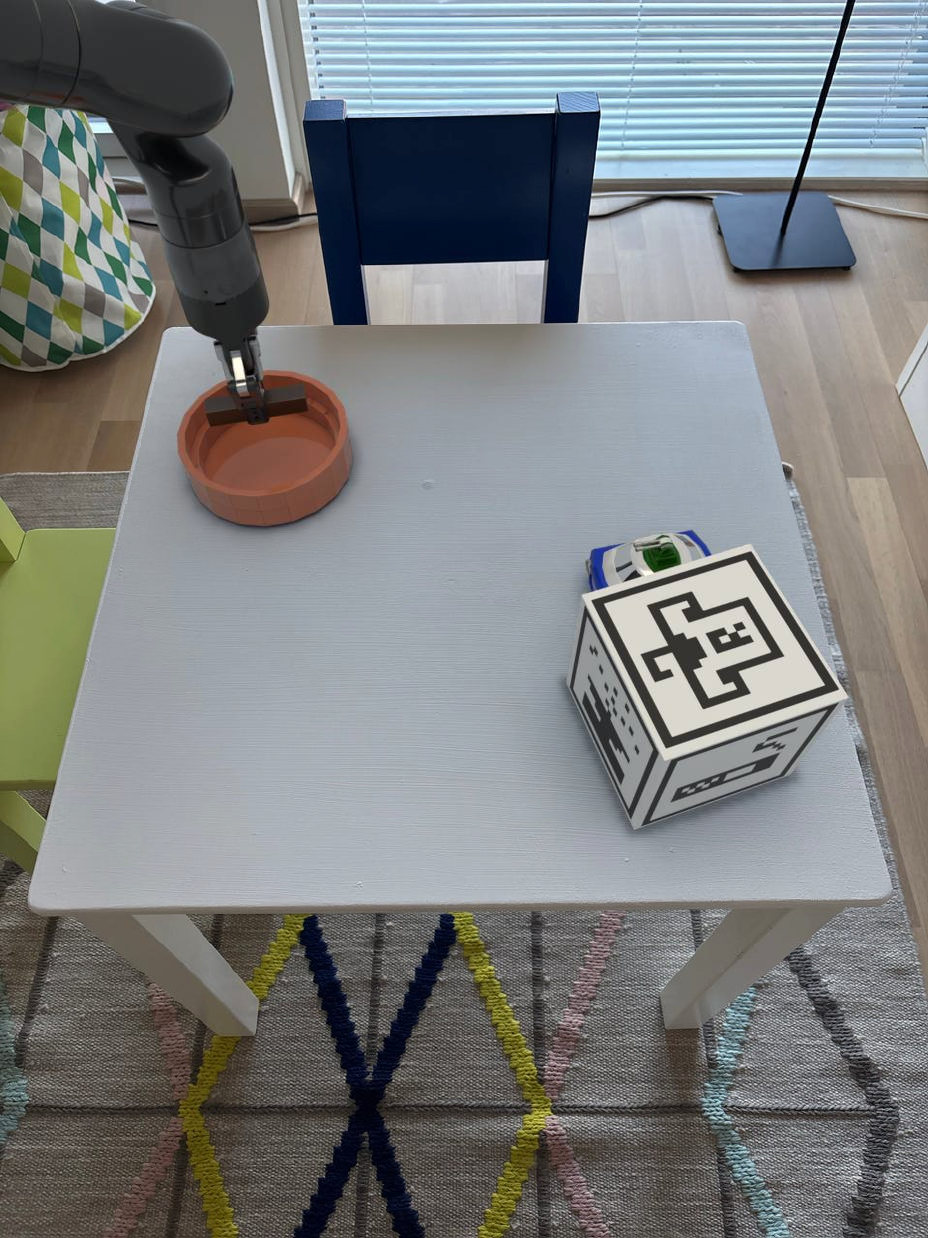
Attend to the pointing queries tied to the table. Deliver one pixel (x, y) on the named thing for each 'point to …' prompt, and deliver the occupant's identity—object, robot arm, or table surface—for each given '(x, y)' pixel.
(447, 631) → the table surface
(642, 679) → the block
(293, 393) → the stick
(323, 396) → the bowl
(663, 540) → the toy car
